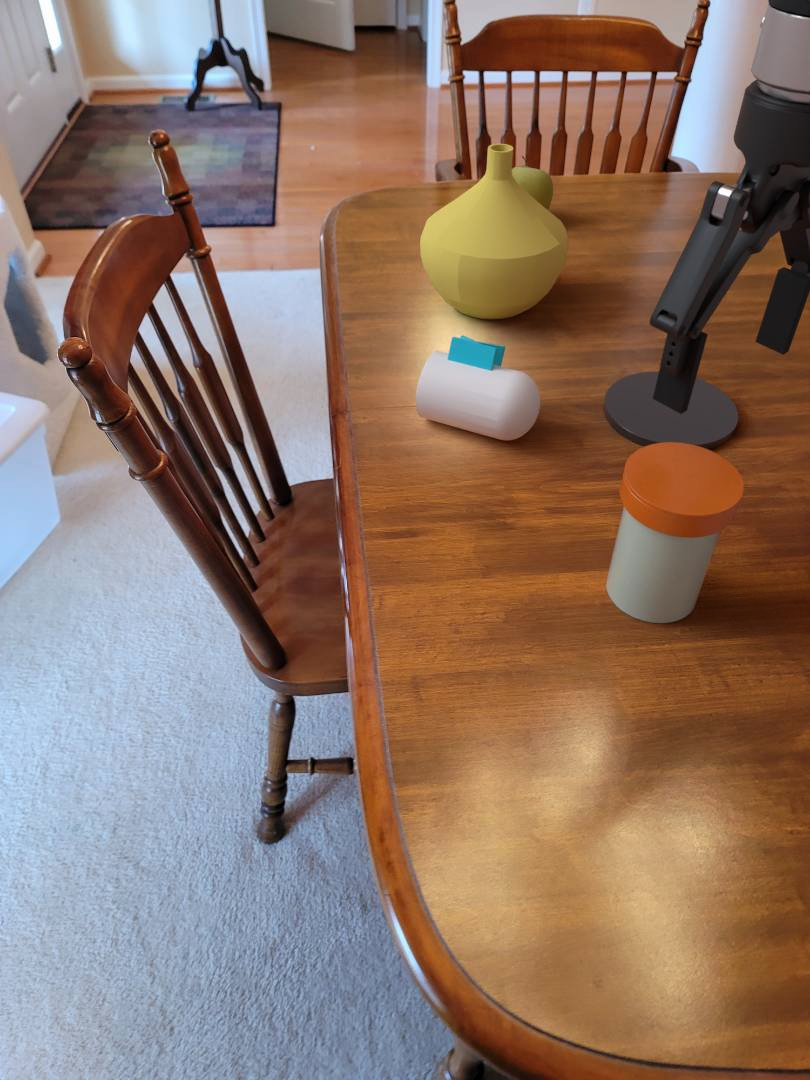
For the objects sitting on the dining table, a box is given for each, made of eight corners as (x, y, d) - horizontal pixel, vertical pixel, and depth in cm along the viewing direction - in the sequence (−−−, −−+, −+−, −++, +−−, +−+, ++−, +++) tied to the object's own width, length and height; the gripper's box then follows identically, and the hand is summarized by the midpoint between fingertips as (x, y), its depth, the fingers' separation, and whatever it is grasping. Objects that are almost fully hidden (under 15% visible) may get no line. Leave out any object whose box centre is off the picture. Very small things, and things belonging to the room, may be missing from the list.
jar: (702, 572, 73) (739, 464, 65) (689, 634, 68) (727, 525, 60) (616, 549, 75) (641, 442, 67) (597, 607, 70) (621, 499, 62)
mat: (742, 394, 93) (745, 386, 92) (727, 466, 84) (730, 458, 83) (618, 368, 97) (619, 361, 96) (590, 435, 88) (591, 427, 87)
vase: (553, 270, 115) (571, 122, 102) (567, 337, 102) (590, 178, 89) (420, 269, 116) (422, 121, 103) (418, 336, 103) (419, 176, 89)
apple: (522, 233, 122) (516, 159, 117) (493, 230, 128) (487, 159, 124) (566, 223, 125) (563, 150, 120) (536, 220, 131) (531, 151, 127)
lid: (741, 479, 66) (749, 457, 65) (728, 550, 60) (736, 527, 59) (631, 454, 69) (636, 432, 67) (608, 520, 63) (613, 497, 61)
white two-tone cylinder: (540, 362, 79) (426, 334, 83) (519, 453, 83) (410, 422, 86) (570, 352, 89) (467, 327, 93) (550, 433, 93) (451, 406, 97)
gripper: (858, 42, 61) (771, 309, 75) (634, 110, 49) (583, 409, 64) (962, 63, 56) (848, 342, 71) (742, 143, 45) (661, 456, 60)
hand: (722, 374), depth 67 cm, fingers open, 13 cm apart
